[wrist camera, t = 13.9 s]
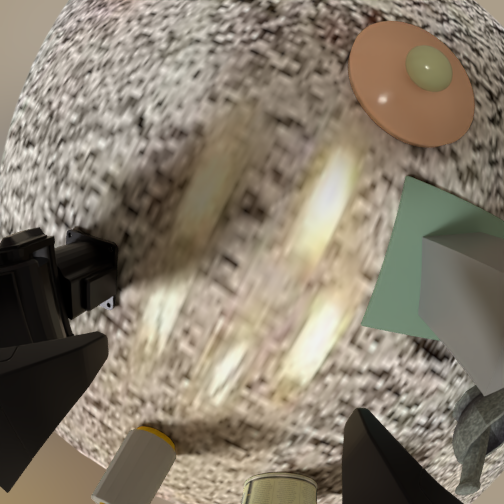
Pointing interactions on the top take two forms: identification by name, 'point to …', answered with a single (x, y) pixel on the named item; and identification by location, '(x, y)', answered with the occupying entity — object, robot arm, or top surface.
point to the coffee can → (279, 489)
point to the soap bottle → (136, 468)
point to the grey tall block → (466, 302)
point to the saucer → (411, 84)
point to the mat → (419, 253)
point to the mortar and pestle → (477, 434)
